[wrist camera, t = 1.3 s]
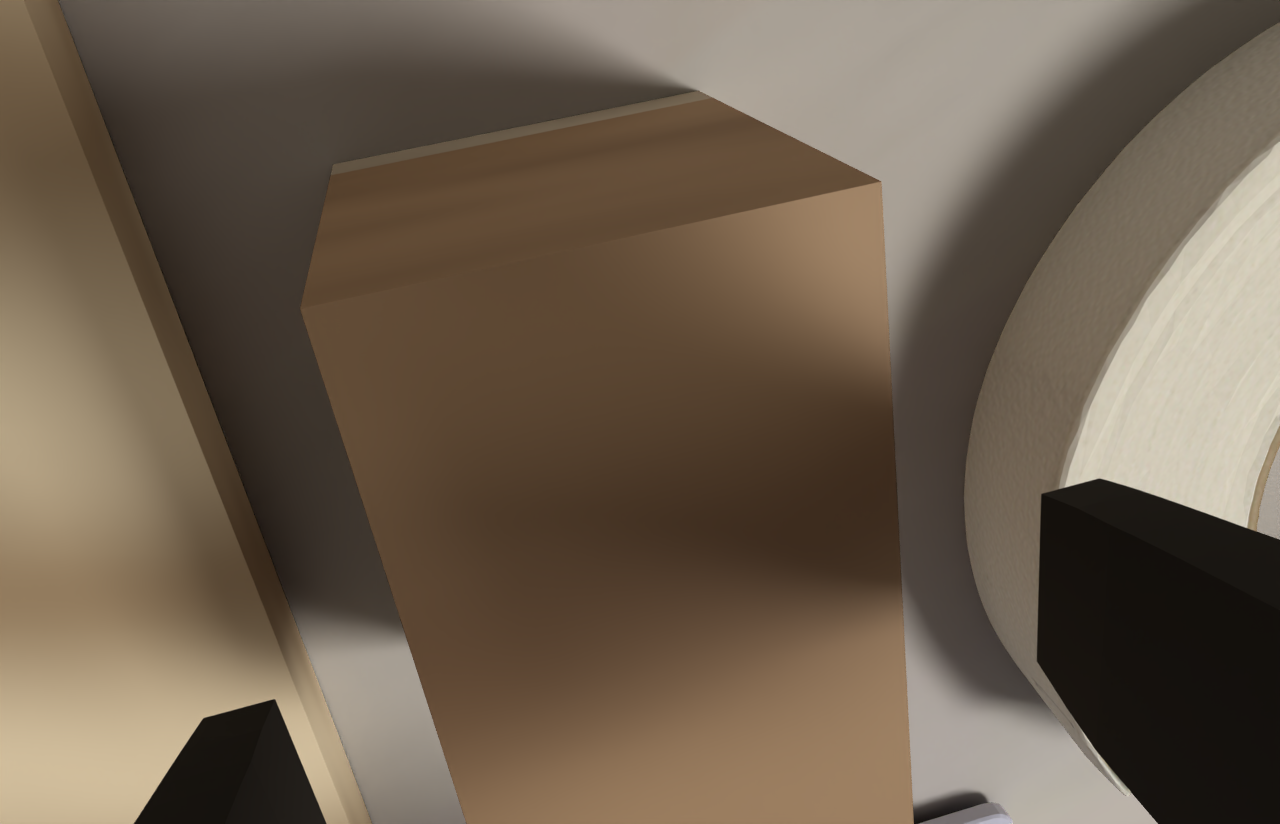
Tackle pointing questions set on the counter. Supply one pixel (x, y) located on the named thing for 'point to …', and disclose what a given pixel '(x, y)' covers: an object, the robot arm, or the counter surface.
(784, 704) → the block
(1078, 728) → the roll of tape
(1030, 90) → the counter surface
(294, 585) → the counter surface
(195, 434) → the board
